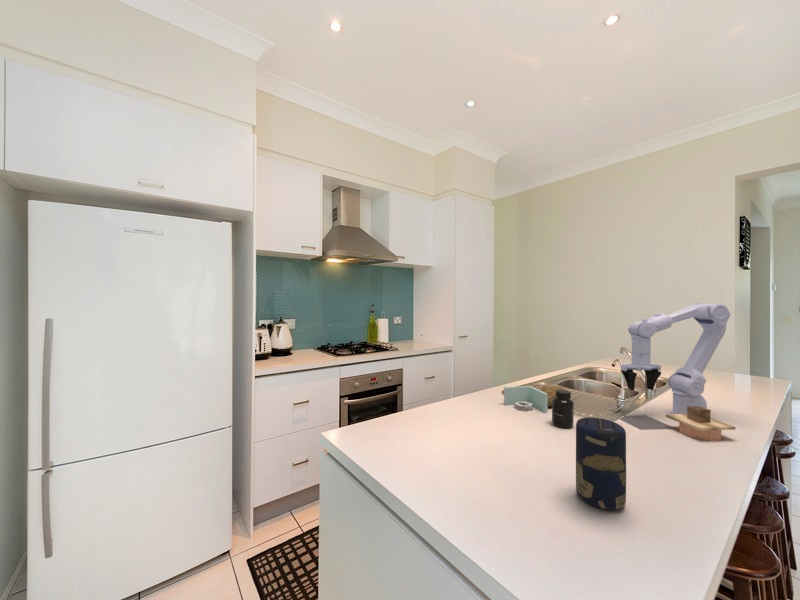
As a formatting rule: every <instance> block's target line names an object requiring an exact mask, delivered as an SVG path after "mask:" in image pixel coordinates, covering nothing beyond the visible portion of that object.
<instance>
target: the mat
mask: <svg viewBox="0 0 800 600" xmlns="http://www.w3.org/2000/svg"><path fill="white" fill-rule="evenodd" d="M623 416H624V417H622V418H620V419H619V420H621V421H622V422H624V423H626V424H629V425H631V426H632V427H634V428H637V429H638V430H640V431H641V430H644V431H645V430H646V431H647V430H648V431H651V430H677V428H676V427H674V426H672V425H669V424H667V423H664V422H662V421H660V420H658V419H656V418H653V417H651V416H649V415H647V414H644V415H642V414H641V415H640V414H639V415H637V414H636V415H623Z"/></svg>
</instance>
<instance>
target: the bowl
mask: <svg viewBox="0 0 800 600" xmlns="http://www.w3.org/2000/svg"><path fill="white" fill-rule="evenodd" d="M678 429H679V433H681V434H683V435H685V436H687V437H691V438H694V439H698V440H703V441H711V442H712V441H715V442H716V441H722V430H701V431H699V430H697V429H694V428H692V427H690V426H687V425H685V424H682V423H680V422H678Z"/></svg>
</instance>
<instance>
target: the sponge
mask: <svg viewBox="0 0 800 600" xmlns="http://www.w3.org/2000/svg"><path fill="white" fill-rule="evenodd" d="M539 390H540V391H542V392H544V393H546V394H548V408H550V407H551V408H552V400H553V399H554V398H555V397H556V396H555V394H556V390H566V391H568V390H567V389H566V388H565V387H563V386H559V385H558V386H556V385H554V386H553V385H546V386H545V385H544V386H543V387H541V388H540V389H539Z"/></svg>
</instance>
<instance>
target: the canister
mask: <svg viewBox="0 0 800 600" xmlns="http://www.w3.org/2000/svg"><path fill="white" fill-rule="evenodd" d="M575 489H576V492H577V495H578V496H579V497H580V498H581V499H582V500H583V501H584V502H586V503H587V504H589V505H592V506H595V508H596V507H597V508H601V509H604V510H618V509H621V508H623V507H624V506H625V505H626V502H627V432H626V429H625V428H624V427H623V425H621V424H619V423H617V422H615V421H612V420H610V419H605V418H602V417H601V418H600V417H591V416H589V417H582V418H579V419H578V420H577V421H576V424H575Z"/></svg>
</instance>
